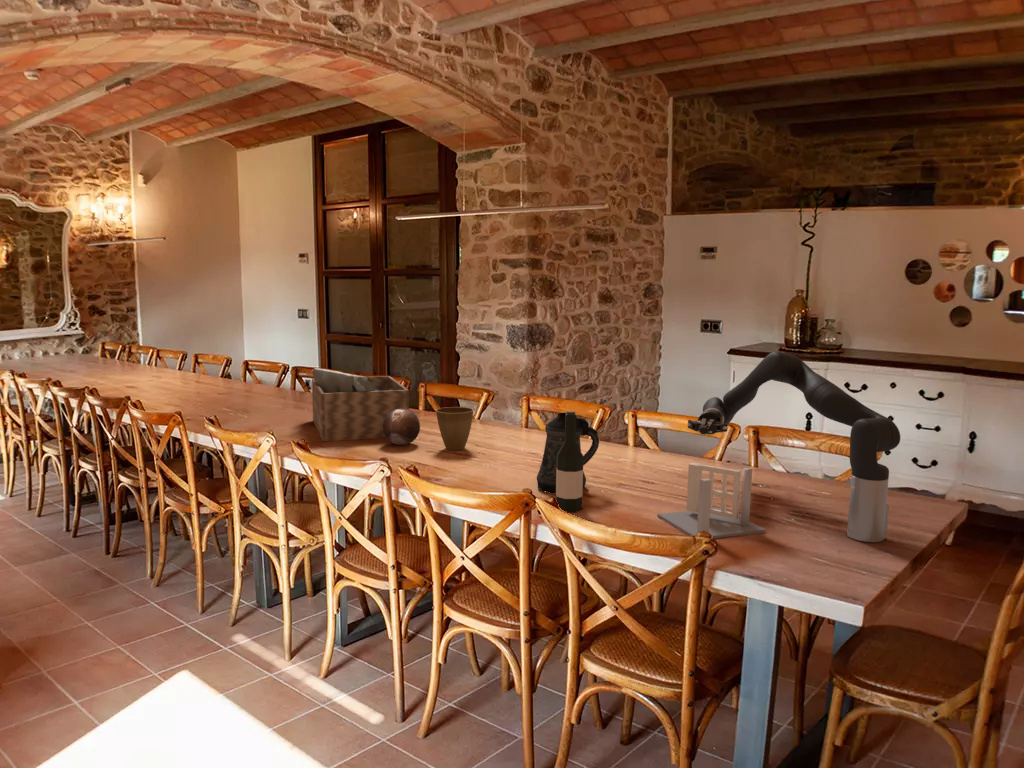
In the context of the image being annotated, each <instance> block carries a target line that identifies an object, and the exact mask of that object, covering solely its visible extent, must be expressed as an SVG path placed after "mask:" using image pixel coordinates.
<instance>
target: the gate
mask: <svg viewBox="0 0 1024 768" xmlns="http://www.w3.org/2000/svg"><path fill="white" fill-rule="evenodd" d="M687 471H688V472H687V473H688V474H687V494H686V495H687V496H686V511H692V512H698V504H699V483H700V479H703V471H705V472H708V473H709V475H708V479H710V480H711V499H710V514H715V515H720V516H725V517H730V518H734V519H737V518H738V516H740V515H739V514H740V513H739V512H740V510H739V509H740V495H741V476H742V474H741V473H742V470H737V469H731V468H725V467H718V466H713V465H707V464H703V463H699V462H695V461H694V462H690V463H689V464H688V470H687ZM715 473H716V474H721V475H722V477H721V478H722V480H721V481H722V482H721V490H716V489H714V482H715V481H714V476H715ZM728 476H731V477H733V484H732V485H733V486H732V487H733V488H732V492H727V488H728ZM713 496H717V497H720V498H721V500H720V507H721V510H717V509H712V508H713V500H714V498H713ZM727 498H728V499H732V503H731V511H730V512H727V511H725V509H726V504H727V503H726V502H727ZM726 510H727V509H726Z"/></svg>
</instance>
